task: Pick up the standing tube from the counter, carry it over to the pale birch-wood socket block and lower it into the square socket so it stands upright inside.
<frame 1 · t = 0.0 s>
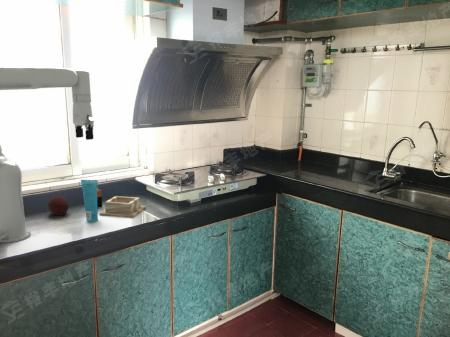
hand: (84, 138, 169), 37 cm above the counter, tool pointing down, fingers open, 9 cm apart
battery: (94, 208, 193), on the counter
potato: (59, 214, 182), on the counter
socket block: (123, 211, 187), on the counter
tube: (92, 221, 174), on the counter
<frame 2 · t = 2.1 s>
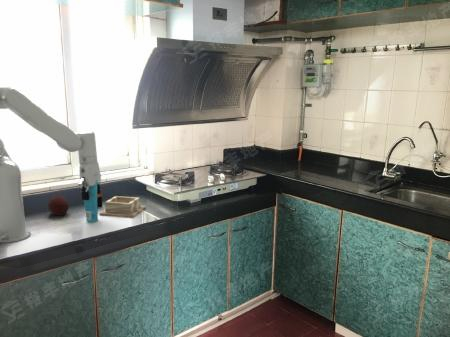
hand: (91, 196, 172), 11 cm above the counter, tool pointing down, fingers open, 9 cm apart
nothing on the counter moved.
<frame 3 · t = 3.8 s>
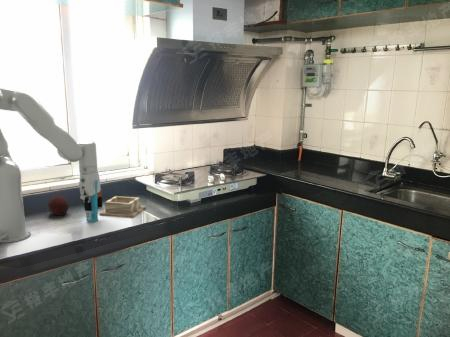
hand: (91, 208, 173), 6 cm above the counter, tool pointing down, fingers closed on tube, 4 cm apart
tube: (92, 221, 174), on the counter, touching gripper
everything else where it was.
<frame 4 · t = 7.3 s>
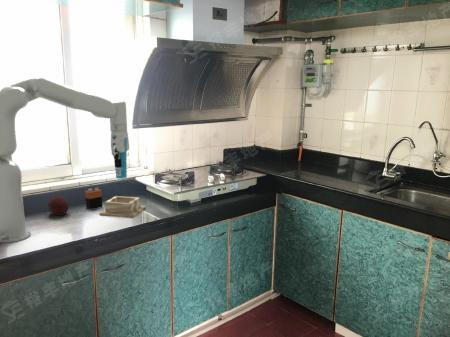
hand: (120, 165, 182), 23 cm above the counter, tool pointing down, fingers closed on tube, 4 cm apart
tube: (121, 178, 183), point 17 cm above the counter, touching gripper
everything else where it was.
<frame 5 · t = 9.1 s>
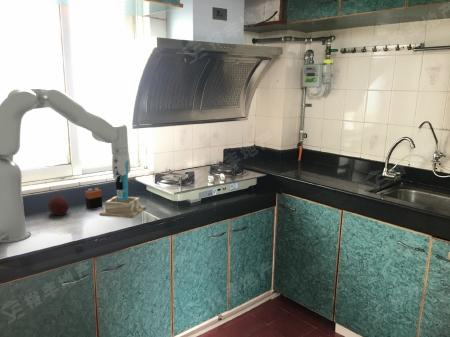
hand: (122, 187, 184), 12 cm above the counter, tool pointing down, fingers closed on tube, 4 cm apart
tube: (122, 199, 186), point 6 cm above the counter, touching gripper
everything else where it was.
when the fingers open (8 cm above the counter, at t = 10.7 s): tube drops 1 cm, resting on socket block.
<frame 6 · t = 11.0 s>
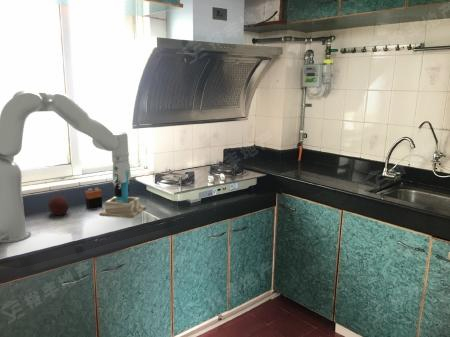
hand: (122, 194, 185), 9 cm above the counter, tool pointing down, fingers open, 7 cm apart
tube: (122, 210, 186), point 1 cm above the counter, touching socket block
everything else where it was.
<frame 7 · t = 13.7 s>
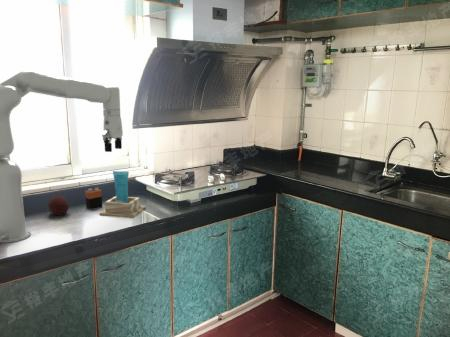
hand: (113, 150, 180), 31 cm above the counter, tool pointing down, fingers open, 9 cm apart
nothing on the counter moved.
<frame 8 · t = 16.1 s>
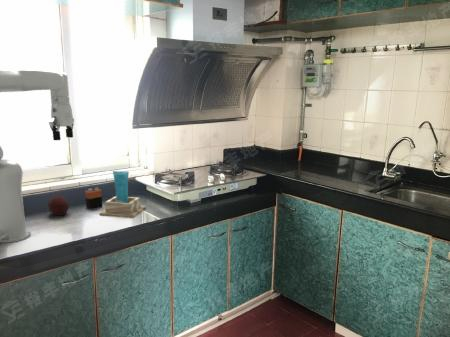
hand: (63, 138, 175), 36 cm above the counter, tool pointing down, fingers open, 9 cm apart
nothing on the counter moved.
at the end: tube 0.2 cm off-centre on the socket block, point 0.8 cm above the socket block's base; tube tilted 0°; the gripper is holding nothing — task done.
